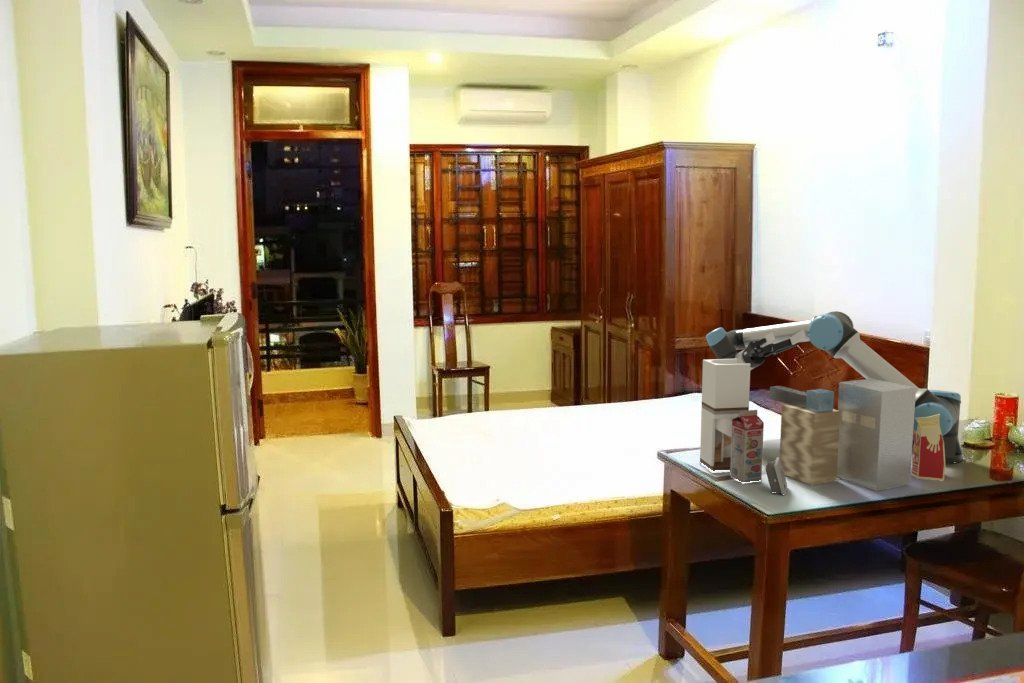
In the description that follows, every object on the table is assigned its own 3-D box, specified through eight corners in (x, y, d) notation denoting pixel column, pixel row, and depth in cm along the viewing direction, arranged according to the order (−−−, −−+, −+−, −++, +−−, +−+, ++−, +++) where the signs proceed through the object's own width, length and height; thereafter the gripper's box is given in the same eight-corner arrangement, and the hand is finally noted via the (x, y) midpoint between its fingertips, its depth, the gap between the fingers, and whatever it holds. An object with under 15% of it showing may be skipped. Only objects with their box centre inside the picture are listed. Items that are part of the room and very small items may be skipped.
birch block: (778, 472, 256) (781, 405, 253) (802, 468, 260) (805, 402, 257) (811, 485, 243) (815, 414, 240) (836, 480, 247) (840, 410, 244)
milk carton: (939, 472, 255) (943, 411, 252) (945, 481, 246) (950, 417, 243) (907, 470, 258) (911, 409, 255) (912, 478, 249) (917, 415, 246)
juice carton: (730, 478, 250) (732, 409, 247) (748, 475, 253) (750, 407, 250) (743, 484, 244) (745, 413, 241) (761, 481, 246) (764, 411, 243)
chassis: (833, 476, 252) (838, 382, 248) (866, 470, 257) (872, 378, 253) (875, 491, 237) (881, 391, 233) (909, 484, 243) (916, 387, 239)
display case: (712, 473, 255) (716, 365, 250) (699, 463, 266) (702, 359, 261) (746, 471, 257) (750, 363, 252) (732, 462, 267) (736, 358, 262)
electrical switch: (785, 496, 233) (783, 465, 232) (766, 496, 235) (764, 465, 234) (787, 487, 242) (785, 457, 241) (769, 486, 244) (767, 456, 243)
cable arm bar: (767, 399, 261) (767, 381, 261) (781, 397, 264) (782, 379, 263) (818, 413, 242) (819, 393, 241) (833, 411, 244) (834, 391, 243)
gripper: (780, 365, 292) (820, 342, 274) (725, 370, 281) (763, 347, 263) (774, 346, 294) (813, 322, 276) (719, 350, 284) (756, 326, 266)
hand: (789, 334), depth 270 cm, fingers open, 13 cm apart
